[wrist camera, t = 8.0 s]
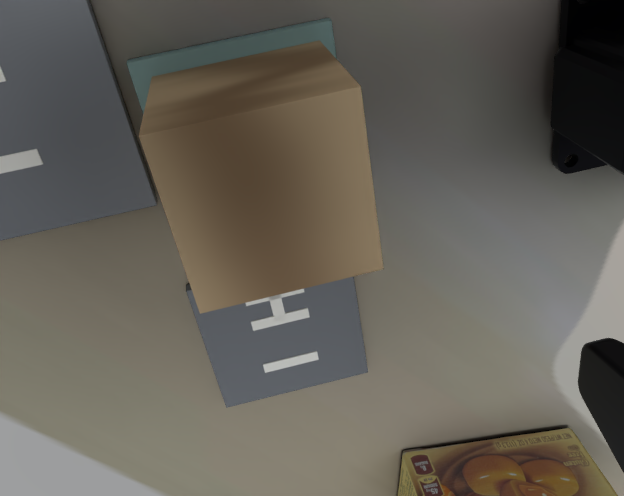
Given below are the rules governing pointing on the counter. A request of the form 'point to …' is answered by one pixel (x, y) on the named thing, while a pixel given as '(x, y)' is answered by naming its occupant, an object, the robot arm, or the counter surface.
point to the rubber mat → (226, 52)
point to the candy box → (505, 468)
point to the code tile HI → (284, 341)
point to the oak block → (263, 173)
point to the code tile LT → (62, 122)
